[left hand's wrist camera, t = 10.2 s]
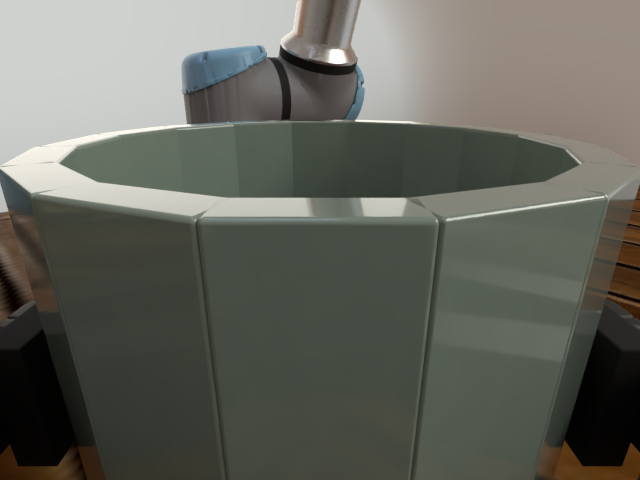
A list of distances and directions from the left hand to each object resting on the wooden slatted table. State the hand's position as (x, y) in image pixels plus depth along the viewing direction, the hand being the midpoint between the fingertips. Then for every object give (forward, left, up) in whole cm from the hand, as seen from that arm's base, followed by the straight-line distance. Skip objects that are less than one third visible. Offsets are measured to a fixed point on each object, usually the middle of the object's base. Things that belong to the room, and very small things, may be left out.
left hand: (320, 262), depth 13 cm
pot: (+3, -3, -6) cm, 8 cm away
